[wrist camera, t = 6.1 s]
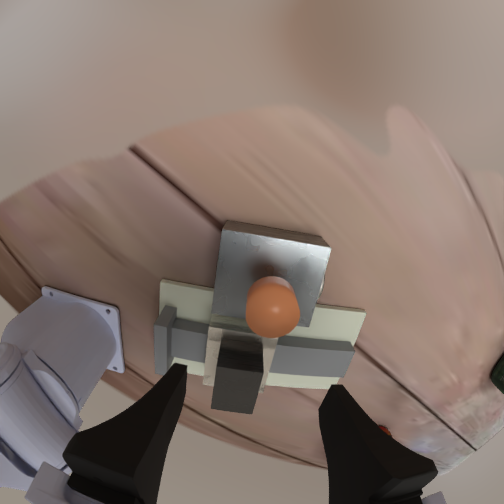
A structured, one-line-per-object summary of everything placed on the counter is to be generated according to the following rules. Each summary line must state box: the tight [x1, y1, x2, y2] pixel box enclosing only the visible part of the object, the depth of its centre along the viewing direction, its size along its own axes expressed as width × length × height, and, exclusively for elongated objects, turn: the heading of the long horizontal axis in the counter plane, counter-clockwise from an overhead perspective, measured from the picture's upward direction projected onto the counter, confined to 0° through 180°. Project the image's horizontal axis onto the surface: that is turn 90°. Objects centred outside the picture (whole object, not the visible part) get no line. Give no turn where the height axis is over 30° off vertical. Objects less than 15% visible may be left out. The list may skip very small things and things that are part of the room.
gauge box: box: [211, 220, 331, 327], centre depth 20 cm, size 7×6×3 cm
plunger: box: [246, 276, 300, 338], centre depth 15 cm, size 3×3×2 cm
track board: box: [154, 279, 366, 389], centre depth 21 cm, size 17×9×4 cm, turn 80°
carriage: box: [203, 314, 278, 414], centre depth 20 cm, size 5×6×6 cm
